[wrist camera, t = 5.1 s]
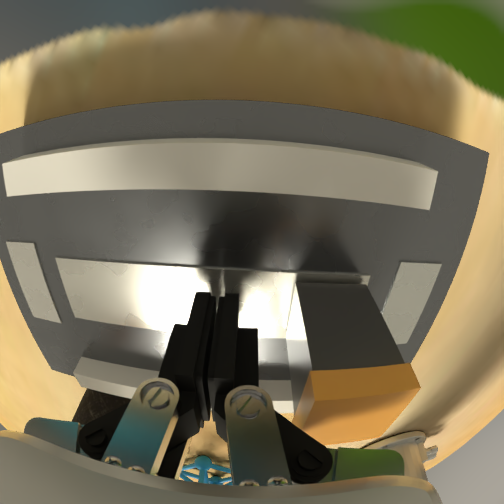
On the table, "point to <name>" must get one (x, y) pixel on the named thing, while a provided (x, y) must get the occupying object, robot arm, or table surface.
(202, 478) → the molecular structure
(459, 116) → the table surface
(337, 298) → the switch handle
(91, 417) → the travel mug
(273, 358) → the switch panel
